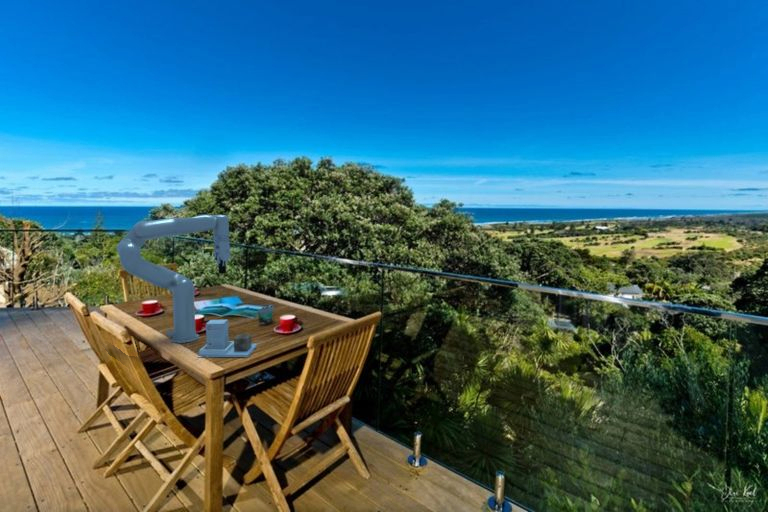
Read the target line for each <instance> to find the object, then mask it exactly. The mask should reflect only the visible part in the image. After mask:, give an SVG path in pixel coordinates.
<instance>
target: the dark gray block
mask: <svg viewBox="0 0 768 512" xmlns="http://www.w3.org/2000/svg"><path fill="white" fill-rule="evenodd" d="M233 341H234V351H248V350H249V349H250V348H251V347H252V346H251V344H252V334H245V333H244V334H242V333H240V334H237V335H236V336H235V337H233Z"/></svg>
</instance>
